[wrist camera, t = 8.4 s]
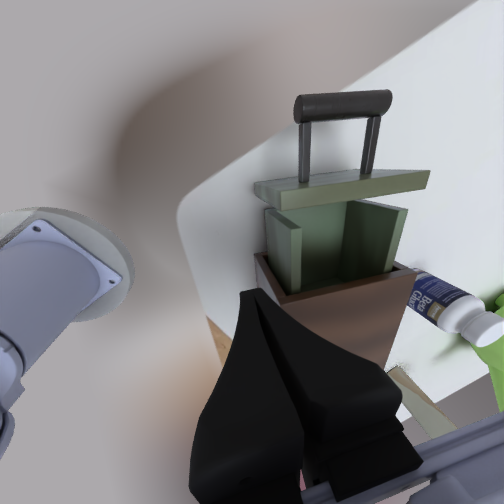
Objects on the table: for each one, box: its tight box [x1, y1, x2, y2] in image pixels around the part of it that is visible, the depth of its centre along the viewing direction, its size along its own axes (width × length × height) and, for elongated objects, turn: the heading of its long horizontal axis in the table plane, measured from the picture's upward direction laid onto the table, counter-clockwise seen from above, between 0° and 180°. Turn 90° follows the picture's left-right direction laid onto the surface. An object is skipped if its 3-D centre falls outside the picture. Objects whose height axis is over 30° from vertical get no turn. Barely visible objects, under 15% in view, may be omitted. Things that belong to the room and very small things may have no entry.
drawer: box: [254, 89, 431, 296], centre depth 16 cm, size 17×10×7 cm, turn 6°
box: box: [387, 366, 458, 439], centre depth 35 cm, size 5×4×11 cm
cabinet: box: [254, 251, 418, 370], centre depth 20 cm, size 14×12×9 cm
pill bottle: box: [407, 269, 504, 347], centre depth 24 cm, size 5×5×10 cm
